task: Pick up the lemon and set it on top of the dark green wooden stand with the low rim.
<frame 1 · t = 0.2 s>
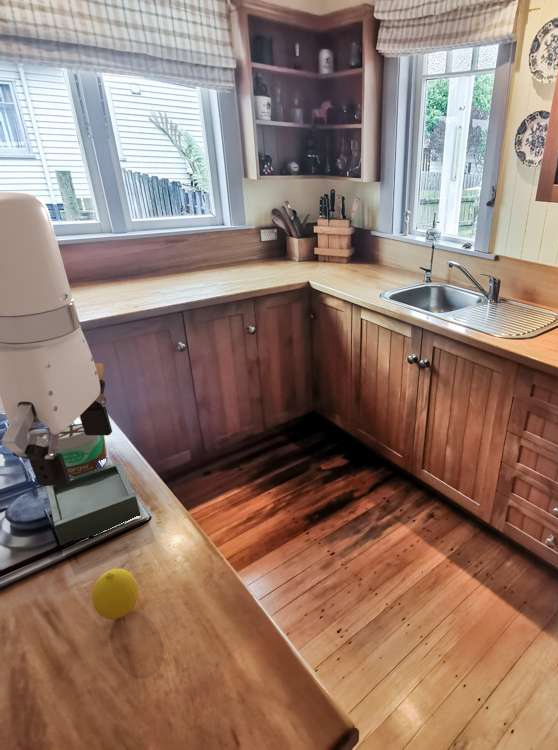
hand: (78, 457, 55), 26 cm above the worktop, tool pointing down, fingers open, 9 cm apart
lemon: (122, 614, 66), on the worktop
food container: (83, 472, 93), on the worktop
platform: (97, 512, 83), on the worktop
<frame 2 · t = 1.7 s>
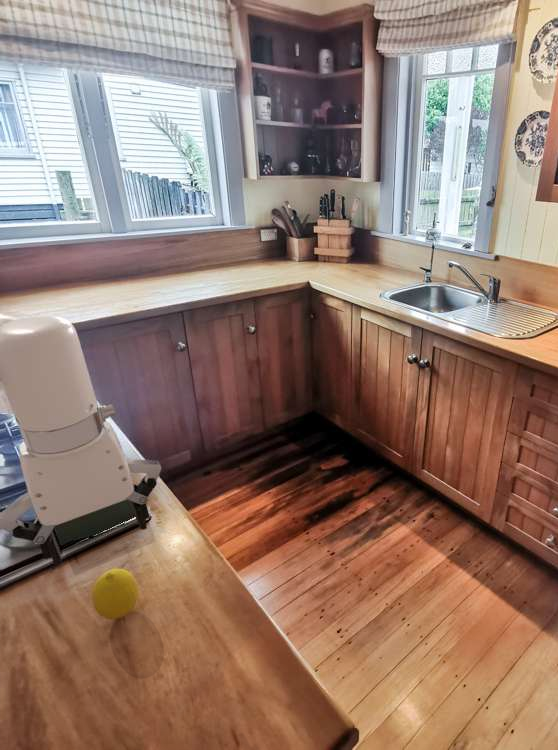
hand: (101, 539, 59), 14 cm above the worktop, tool pointing down, fingers open, 9 cm apart
nothing on the worktop moved.
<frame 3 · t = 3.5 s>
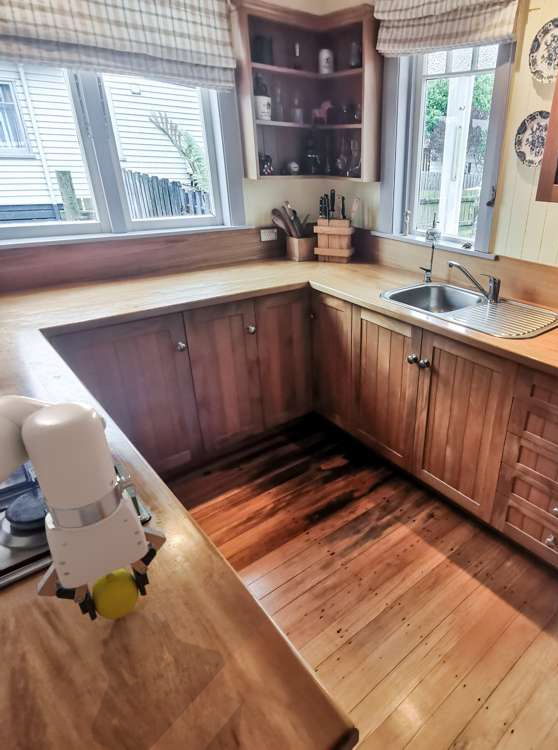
hand: (117, 599, 64), 3 cm above the worktop, tool pointing down, fingers closed on lemon, 5 cm apart
lemon: (122, 614, 66), on the worktop, touching gripper
everything else where it was.
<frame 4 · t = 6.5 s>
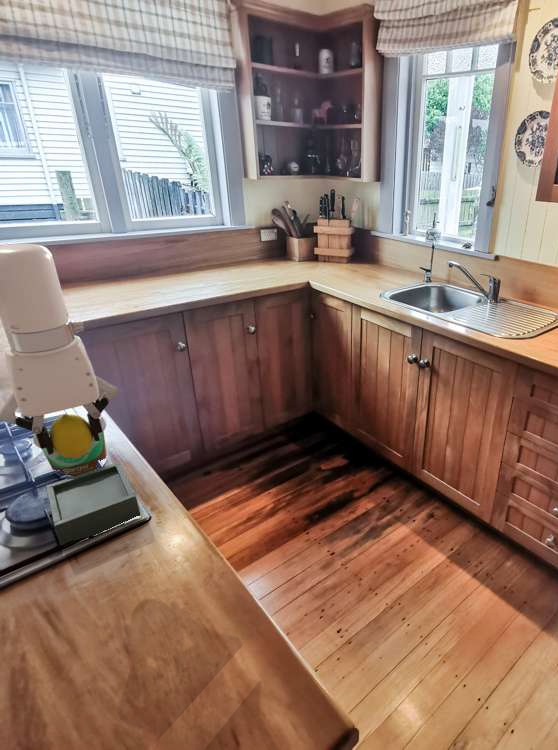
hand: (73, 442, 73), 17 cm above the worktop, tool pointing down, fingers closed on lemon, 5 cm apart
lemon: (78, 458, 74), point 14 cm above the worktop, touching gripper
everything else where it was.
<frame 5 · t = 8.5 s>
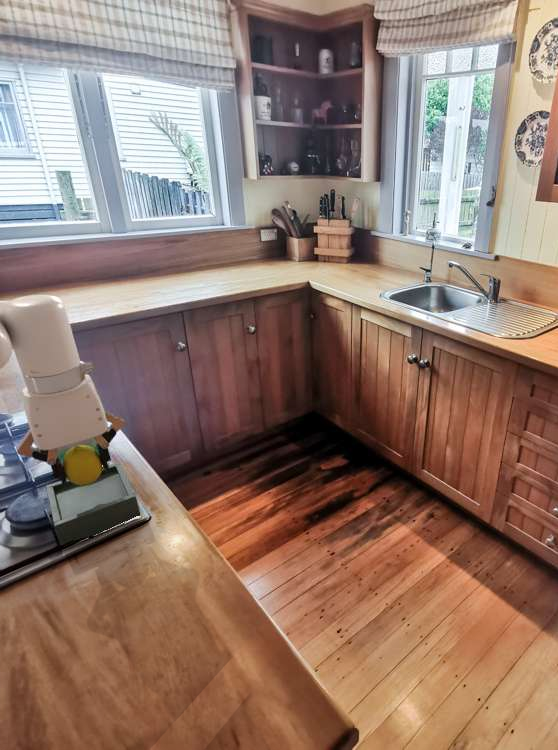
hand: (84, 470, 79), 9 cm above the worktop, tool pointing down, fingers closed on lemon, 5 cm apart
lemon: (88, 485, 80), point 6 cm above the worktop, touching gripper
everything else where it was.
when the fingers open (7 cm above the worktop, at t = 9.6 s): lemon stays where it is, resting on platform.
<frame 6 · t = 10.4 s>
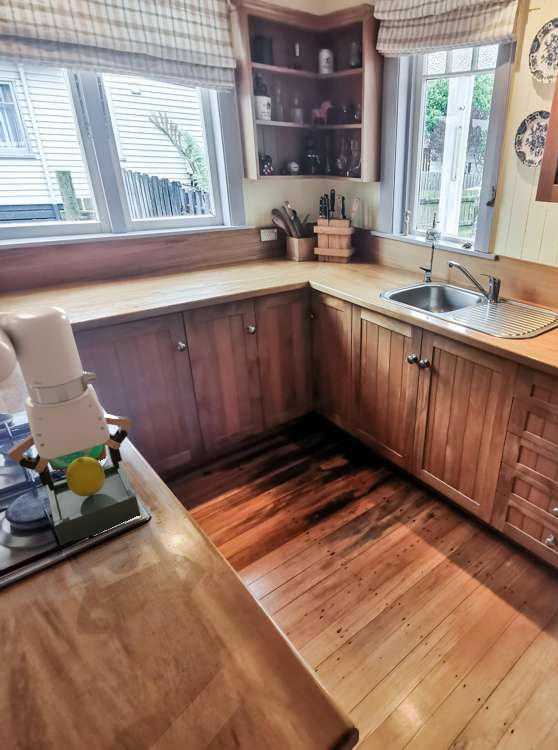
hand: (84, 475, 79), 8 cm above the worktop, tool pointing down, fingers open, 9 cm apart
lemon: (91, 496, 81), point 4 cm above the worktop, touching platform
everything else where it was.
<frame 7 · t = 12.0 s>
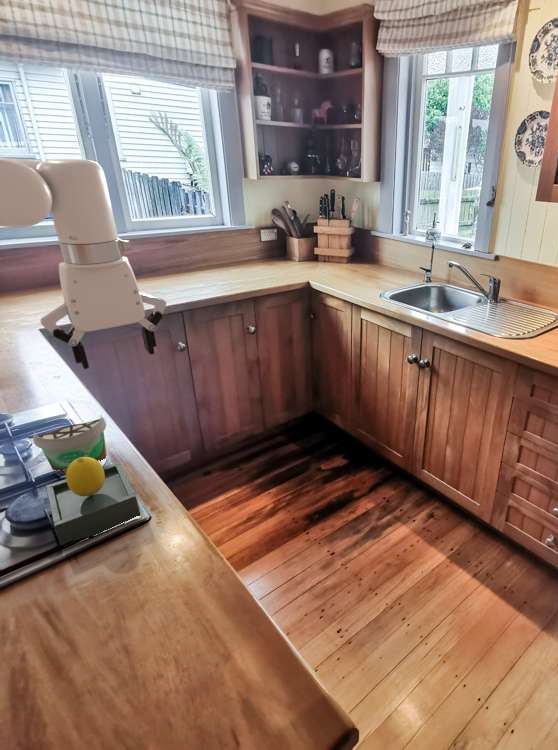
hand: (118, 358, 76), 28 cm above the worktop, tool pointing down, fingers open, 9 cm apart
nothing on the worktop moved.
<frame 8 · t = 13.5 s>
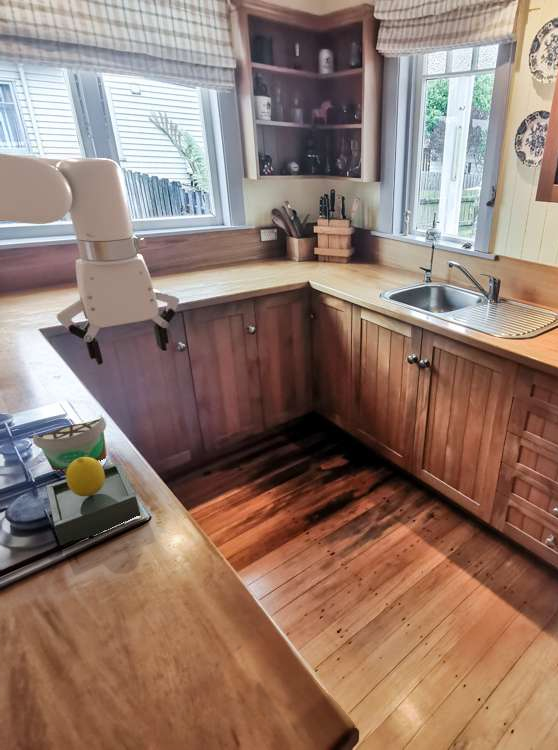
hand: (131, 354, 77), 28 cm above the worktop, tool pointing down, fingers open, 9 cm apart
nothing on the worktop moved.
at the end: lemon 0.0 cm off-centre on the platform, point 3.8 cm above the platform's base; the gripper is holding nothing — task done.
